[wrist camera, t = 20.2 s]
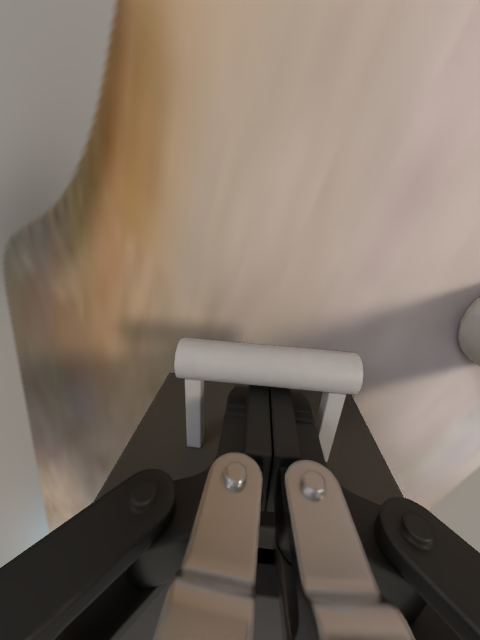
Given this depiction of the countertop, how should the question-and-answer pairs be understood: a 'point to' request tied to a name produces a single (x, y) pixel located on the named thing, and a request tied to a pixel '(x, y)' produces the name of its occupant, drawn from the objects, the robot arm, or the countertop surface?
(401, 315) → the countertop surface
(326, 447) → the handled box lid
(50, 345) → the countertop surface
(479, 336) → the beverage can
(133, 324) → the countertop surface
